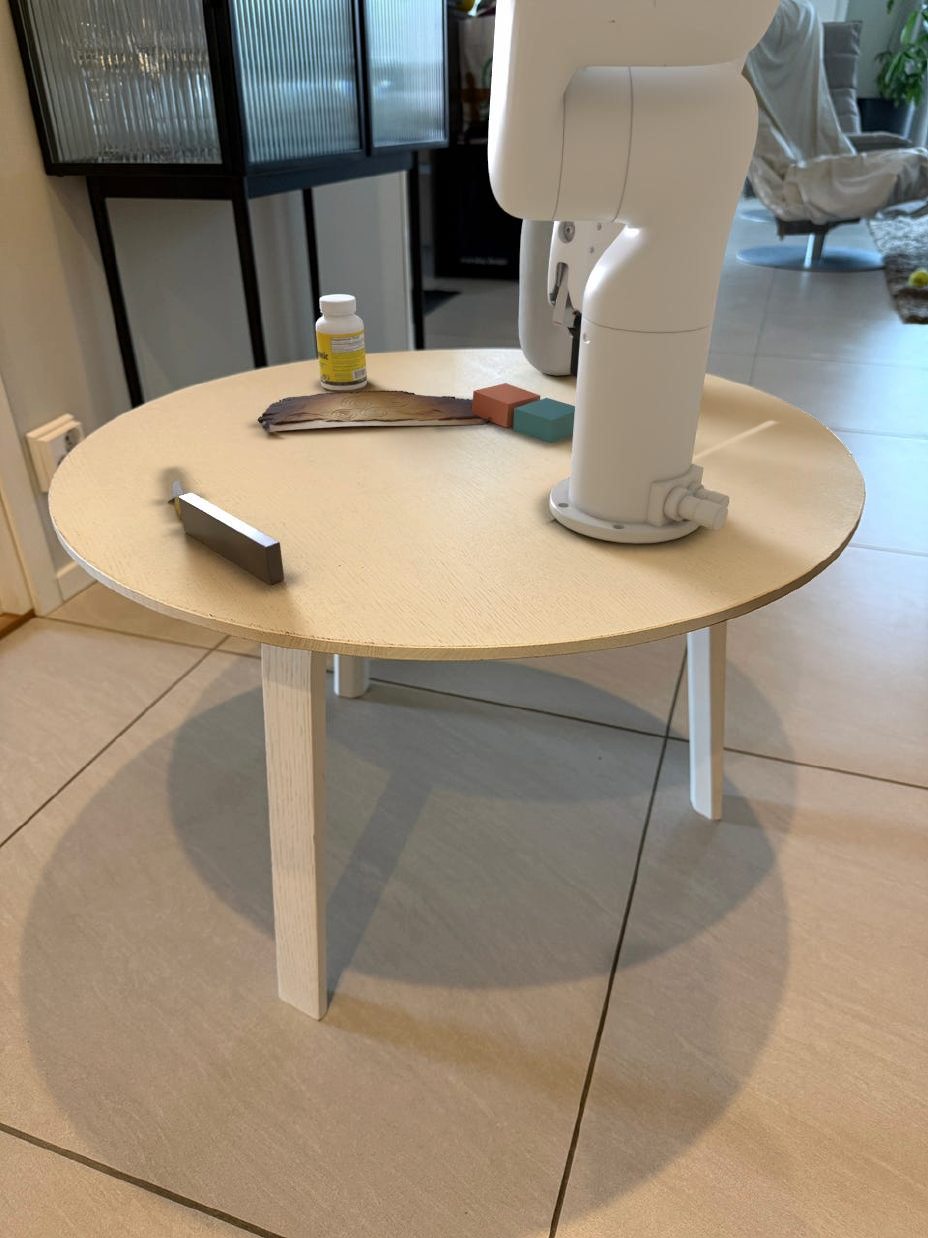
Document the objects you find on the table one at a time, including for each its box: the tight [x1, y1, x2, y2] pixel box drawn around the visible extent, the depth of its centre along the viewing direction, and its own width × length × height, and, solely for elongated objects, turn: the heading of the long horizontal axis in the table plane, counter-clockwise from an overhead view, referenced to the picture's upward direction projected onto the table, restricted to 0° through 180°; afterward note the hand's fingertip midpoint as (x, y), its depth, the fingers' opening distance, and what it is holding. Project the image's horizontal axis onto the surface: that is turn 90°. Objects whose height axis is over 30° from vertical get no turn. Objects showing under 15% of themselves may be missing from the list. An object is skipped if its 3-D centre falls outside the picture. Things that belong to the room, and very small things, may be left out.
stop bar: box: [178, 492, 285, 586], centre depth 65 cm, size 12×1×3 cm, turn 45°
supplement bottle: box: [315, 293, 368, 391], centre depth 99 cm, size 5×5×10 cm
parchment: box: [257, 389, 491, 433], centre depth 92 cm, size 25×10×1 cm, turn 98°
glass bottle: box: [518, 219, 572, 377], centre depth 99 cm, size 10×10×28 cm
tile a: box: [512, 397, 575, 444], centre depth 88 cm, size 5×5×2 cm
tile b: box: [472, 382, 541, 429], centre depth 91 cm, size 5×5×2 cm
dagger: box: [167, 479, 187, 520], centre depth 75 cm, size 11×1×2 cm
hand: (586, 376), depth 90 cm, fingers closed
